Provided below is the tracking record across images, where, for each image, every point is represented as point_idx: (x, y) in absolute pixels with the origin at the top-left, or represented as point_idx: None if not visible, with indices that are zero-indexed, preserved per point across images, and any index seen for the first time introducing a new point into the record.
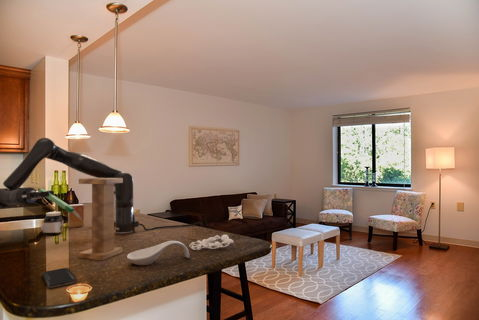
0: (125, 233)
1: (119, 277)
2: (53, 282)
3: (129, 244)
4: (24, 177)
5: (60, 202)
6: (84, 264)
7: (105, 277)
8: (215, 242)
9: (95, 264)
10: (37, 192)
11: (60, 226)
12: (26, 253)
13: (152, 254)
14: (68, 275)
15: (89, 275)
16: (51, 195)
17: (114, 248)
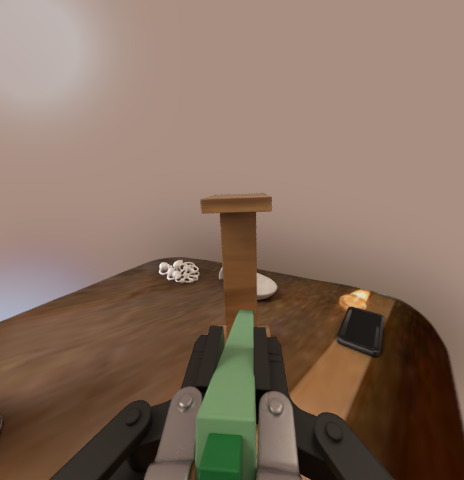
0: (2, 425)
1: (306, 293)
2: (376, 318)
3: (158, 350)
4: None
5: (253, 322)
6: (298, 342)
7: (315, 300)
8: (188, 265)
9: (289, 330)
10: (295, 447)
11: None
12: None
13: (262, 275)
14: (350, 319)
15: (323, 313)
16: (243, 343)
17: (225, 332)
